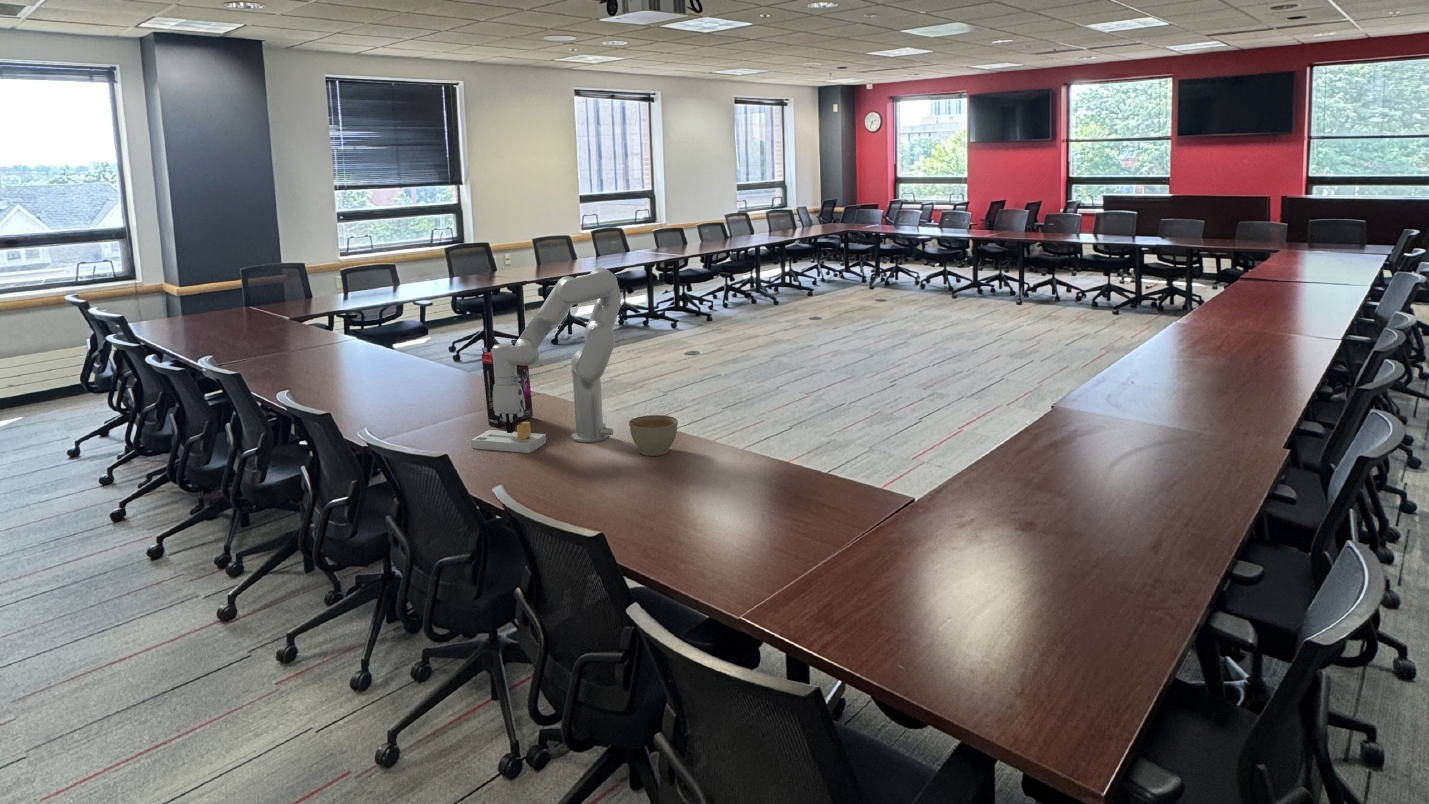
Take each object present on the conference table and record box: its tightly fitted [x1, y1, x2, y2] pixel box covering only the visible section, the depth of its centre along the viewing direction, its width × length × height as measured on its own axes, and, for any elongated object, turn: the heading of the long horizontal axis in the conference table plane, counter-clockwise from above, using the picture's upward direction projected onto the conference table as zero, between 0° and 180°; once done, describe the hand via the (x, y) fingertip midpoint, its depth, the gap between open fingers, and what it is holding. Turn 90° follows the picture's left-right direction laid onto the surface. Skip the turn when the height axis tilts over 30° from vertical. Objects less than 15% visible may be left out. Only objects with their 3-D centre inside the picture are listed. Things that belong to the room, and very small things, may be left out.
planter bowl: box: [628, 414, 679, 457], centre depth 305 cm, size 16×16×11 cm
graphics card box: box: [481, 351, 534, 428], centre depth 342 cm, size 17×7×27 cm, turn 143°
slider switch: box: [471, 429, 547, 454], centre depth 316 cm, size 22×12×3 cm, turn 73°
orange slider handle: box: [516, 421, 532, 440], centre depth 313 cm, size 3×5×7 cm, turn 163°
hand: (511, 432), depth 315 cm, fingers closed
